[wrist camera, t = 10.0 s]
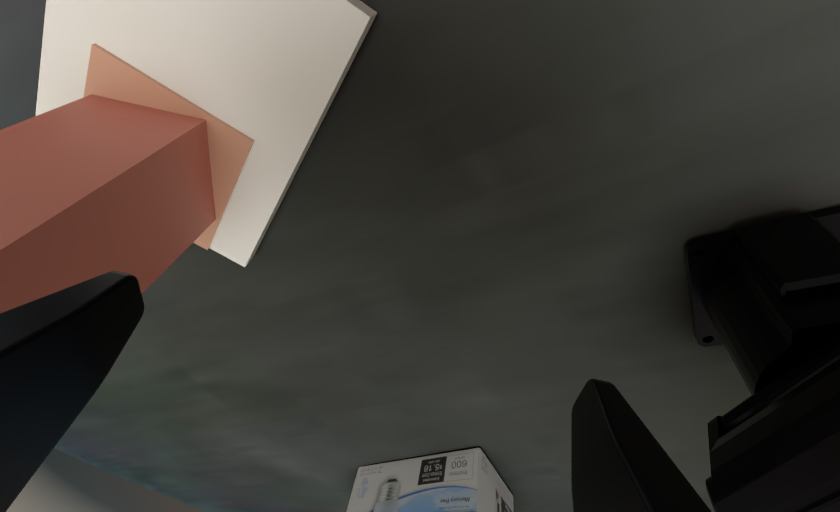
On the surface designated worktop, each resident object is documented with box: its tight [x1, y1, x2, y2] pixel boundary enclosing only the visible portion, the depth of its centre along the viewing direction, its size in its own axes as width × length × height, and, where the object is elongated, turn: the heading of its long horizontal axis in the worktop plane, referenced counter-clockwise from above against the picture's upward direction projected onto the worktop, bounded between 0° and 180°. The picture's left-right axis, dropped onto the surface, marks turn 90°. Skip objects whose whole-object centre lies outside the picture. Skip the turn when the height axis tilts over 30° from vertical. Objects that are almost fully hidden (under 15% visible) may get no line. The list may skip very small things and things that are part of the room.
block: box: [0, 94, 216, 313], centre depth 16 cm, size 5×5×12 cm
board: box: [36, 0, 377, 267], centre depth 20 cm, size 14×11×1 cm
